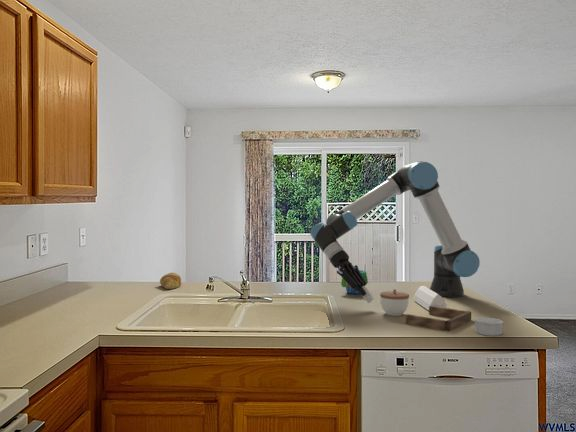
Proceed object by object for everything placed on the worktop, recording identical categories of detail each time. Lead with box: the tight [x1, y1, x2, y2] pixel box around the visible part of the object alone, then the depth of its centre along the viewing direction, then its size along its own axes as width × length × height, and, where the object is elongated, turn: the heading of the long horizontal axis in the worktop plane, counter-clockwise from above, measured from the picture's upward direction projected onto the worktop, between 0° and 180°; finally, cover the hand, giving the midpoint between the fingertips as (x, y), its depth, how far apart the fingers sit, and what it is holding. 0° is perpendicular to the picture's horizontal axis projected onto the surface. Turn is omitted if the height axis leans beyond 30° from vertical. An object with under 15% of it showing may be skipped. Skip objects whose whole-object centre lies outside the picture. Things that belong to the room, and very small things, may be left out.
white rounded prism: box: [413, 285, 448, 311], centre depth 206 cm, size 7×7×24 cm
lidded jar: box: [379, 288, 410, 317], centre depth 191 cm, size 11×11×9 cm
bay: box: [405, 306, 472, 332], centre depth 179 cm, size 16×21×3 cm
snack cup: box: [340, 269, 369, 295], centre depth 233 cm, size 16×10×10 cm
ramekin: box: [474, 316, 504, 337], centre depth 165 cm, size 9×9×4 cm
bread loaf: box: [159, 272, 182, 290], centre depth 244 cm, size 21×10×8 cm, turn 6°
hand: (371, 301), depth 197 cm, fingers closed
